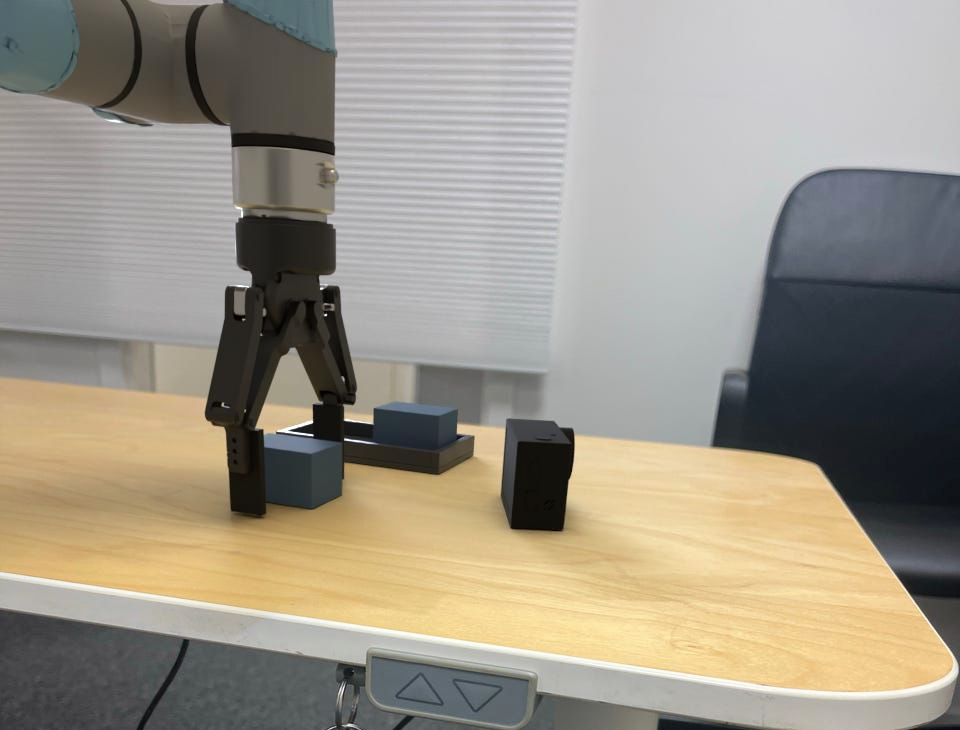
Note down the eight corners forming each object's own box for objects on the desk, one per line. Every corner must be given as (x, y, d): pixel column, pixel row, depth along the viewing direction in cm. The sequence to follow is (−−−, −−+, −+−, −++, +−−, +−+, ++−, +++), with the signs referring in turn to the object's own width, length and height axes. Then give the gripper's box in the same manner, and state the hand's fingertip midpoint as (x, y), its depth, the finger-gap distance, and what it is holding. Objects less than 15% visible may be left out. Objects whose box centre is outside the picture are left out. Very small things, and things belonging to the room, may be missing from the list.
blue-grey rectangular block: (236, 497, 76) (233, 443, 74) (270, 484, 81) (268, 432, 79) (312, 509, 74) (311, 453, 72) (342, 495, 79) (342, 442, 77)
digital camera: (578, 532, 73) (588, 443, 70) (510, 529, 72) (517, 440, 70) (560, 499, 82) (568, 420, 80) (500, 496, 82) (506, 416, 79)
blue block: (372, 453, 93) (373, 407, 91) (393, 444, 97) (395, 401, 96) (437, 462, 91) (439, 415, 89) (456, 452, 96) (458, 408, 94)
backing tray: (275, 452, 93) (275, 431, 92) (324, 435, 102) (324, 416, 102) (438, 474, 88) (439, 452, 88) (473, 455, 98) (474, 435, 97)
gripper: (238, 208, 57) (252, 537, 65) (396, 227, 79) (391, 471, 87) (136, 203, 59) (162, 523, 67) (318, 222, 81) (320, 462, 89)
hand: (291, 494), depth 77 cm, fingers open, 13 cm apart
